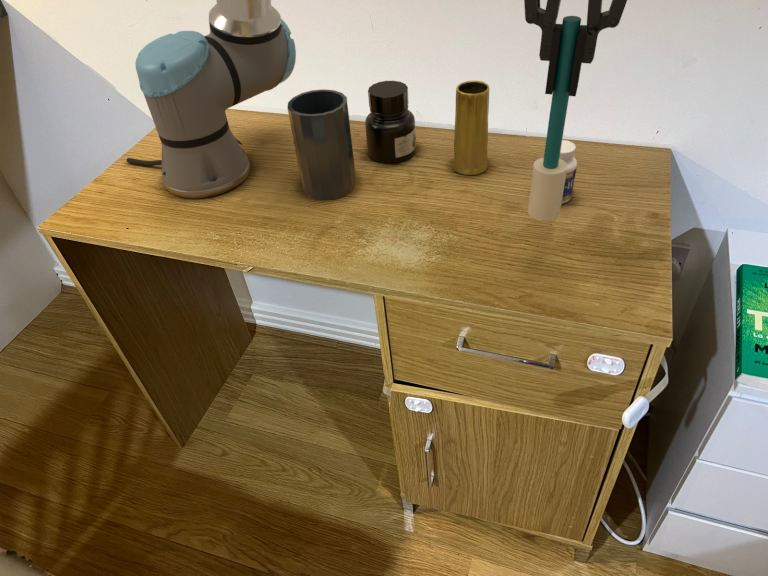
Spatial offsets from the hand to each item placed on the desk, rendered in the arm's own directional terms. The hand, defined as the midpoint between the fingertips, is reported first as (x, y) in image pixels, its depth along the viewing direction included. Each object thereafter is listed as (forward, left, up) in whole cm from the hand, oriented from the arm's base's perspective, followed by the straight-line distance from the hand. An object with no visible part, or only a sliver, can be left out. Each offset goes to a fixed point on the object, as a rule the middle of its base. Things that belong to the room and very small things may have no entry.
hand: (561, 89), depth 65 cm
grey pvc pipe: (-37, +13, -25) cm, 47 cm away
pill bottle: (0, +18, -26) cm, 31 cm away
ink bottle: (-30, +26, -26) cm, 47 cm away
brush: (0, 0, -16) cm, 16 cm away
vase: (-15, +24, -26) cm, 38 cm away
